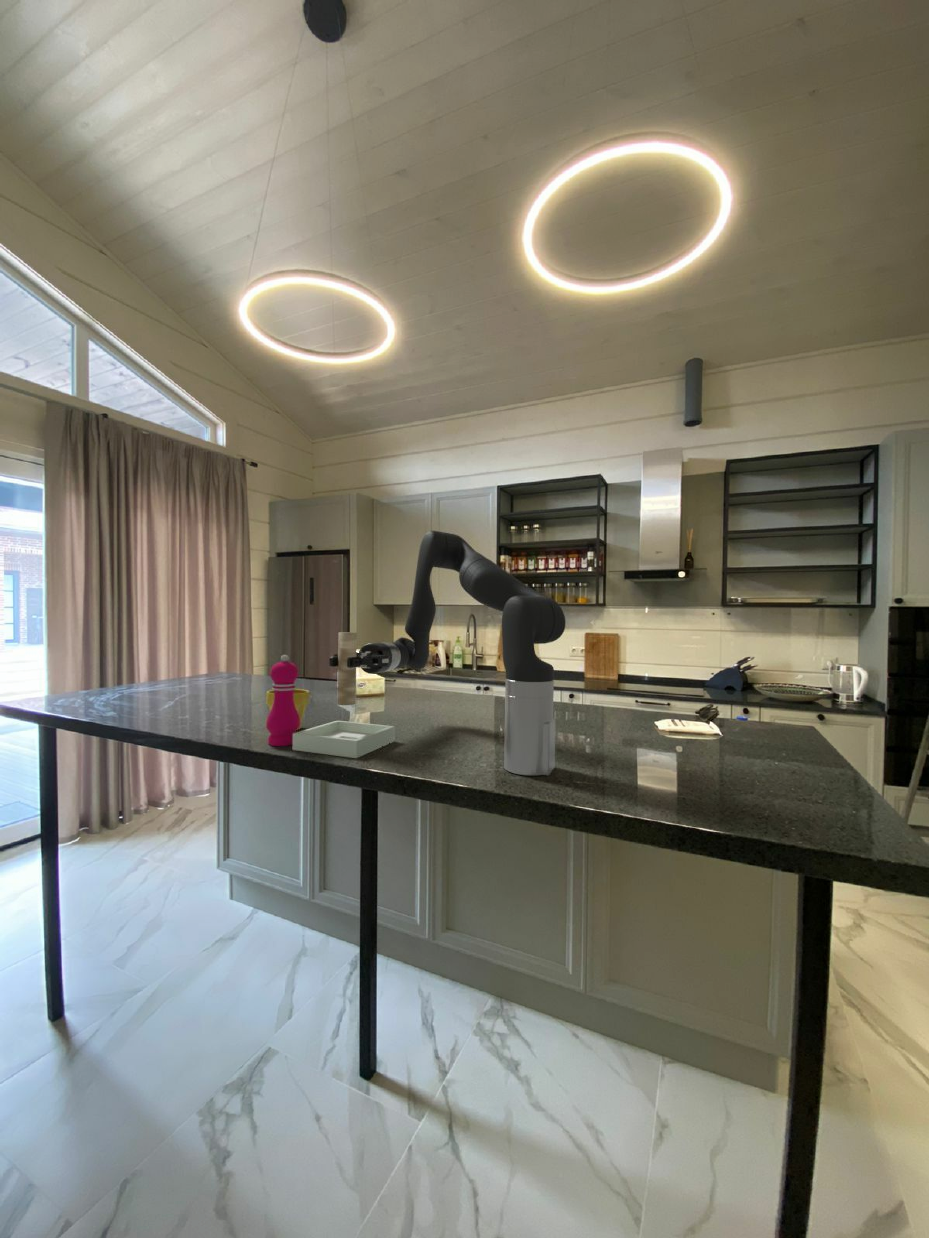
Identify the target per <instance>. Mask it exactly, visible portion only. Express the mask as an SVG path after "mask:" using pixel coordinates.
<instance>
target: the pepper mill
mask: <svg viewBox="0 0 929 1238" xmlns="http://www.w3.org/2000/svg"><path fill="white" fill-rule="evenodd" d="M289 659H290V657H289V655H287V654H282V655H281V656H280V662H276V663H275V664H273V665H272V667H271V669H270V672H269V673H270V674H269V676H270V678H271V680H272V681H273V683H272V688H271V690H274V703H273V706H272V709H271V711H270V710H269V712H268V713H269V714H268V715H267V718H266V723H265V727H266V729H267V730H268V732H270V734H268V737H267V738H268V739H267V744H268V746H273V747H289V746H293V733H296V732H297V731H298V730H297V729H298V728H299V726H300V718H299V714H298V712H297V710H296V708H295V705H294V700H293V693H294V690H295V689H297V687H296V685H297V683H295V681H296V680H297V679H298V677H299V668H298V667H297V665H295V663H293V662H291V661H289ZM296 730H297V731H296Z"/></svg>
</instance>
